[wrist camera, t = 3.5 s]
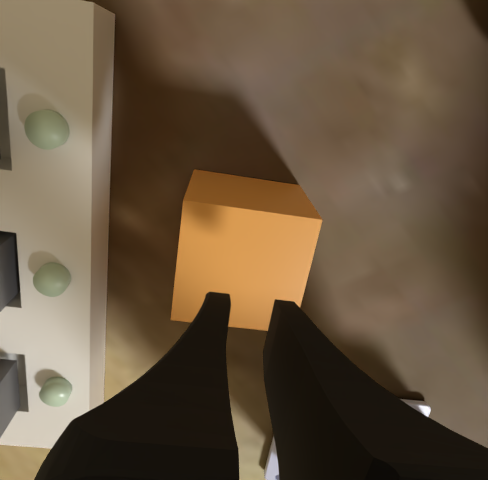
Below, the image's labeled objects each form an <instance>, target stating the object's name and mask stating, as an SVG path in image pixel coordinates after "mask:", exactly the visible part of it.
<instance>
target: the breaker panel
mask: <svg viewBox="0 0 488 480" xmlns="http://www.w3.org/2000/svg"><path fill="white" fill-rule="evenodd" d="M114 36H115V14H114V13H112V12H110V11H108V10H106V9H105V8H103V7H101V6H99V5H97V4H95V3H94V2H88V1H83V0H0V156H1V160H0V231H5V232H13V233H16V235H17V249H18V263H19V278H20V292H19V293H18V294H17V295H16V296H15V297H14V298H13V299H12V300H11V301H10V302H9V303H8V304H7V306H6V307H5V308H4V309H3V310H2V311H1V312H0V359H9V360H17V369H18V381H19V394H20V407H19V409H18V411H17V412H16V414H15V415H14V417H13V419H12V420H11V422H10V423H9V425H8V427H7V428H6V430H5V431H4V433H3V435H2V436H1V438H0V445H12V446H25V447H38V448H52V447H53V446H54V444H55V443H56V441H57V440H58V438H59V437H60V436H61V434H62V433H63V431H64V430H65V429H66V427H67V426H68V425H69V423H70V422H71V421H72V420H73V419H75V418H77V417H79V416H81V415H83V414H84V413H86V412H88V411H90V410H92V409H94V408H95V407H97V406H99V405H101V404H103V403H104V375H105V341H106V307H107V273H108V239H109V205H110V172H111V138H112V104H113V70H114Z"/></svg>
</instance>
